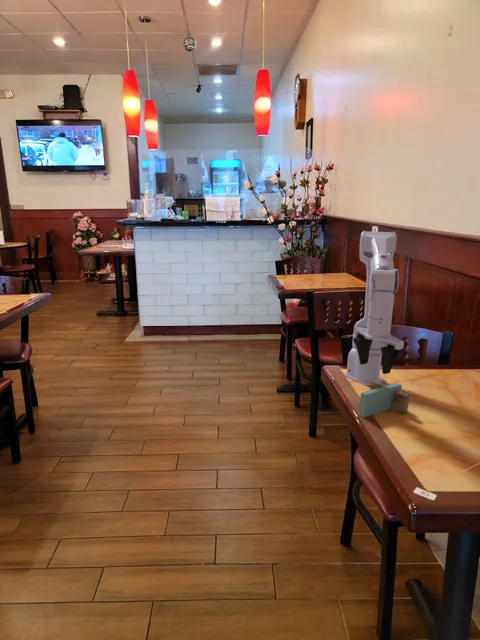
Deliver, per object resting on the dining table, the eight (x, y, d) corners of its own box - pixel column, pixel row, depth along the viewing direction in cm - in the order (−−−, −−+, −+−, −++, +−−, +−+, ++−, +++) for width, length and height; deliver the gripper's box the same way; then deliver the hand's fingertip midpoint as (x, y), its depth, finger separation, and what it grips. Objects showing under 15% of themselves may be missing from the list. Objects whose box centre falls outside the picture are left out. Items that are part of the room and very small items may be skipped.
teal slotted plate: (358, 414, 114) (360, 392, 112) (394, 404, 120) (396, 382, 119) (363, 417, 112) (365, 395, 111) (399, 406, 119) (401, 384, 117)
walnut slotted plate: (369, 398, 123) (371, 381, 122) (373, 397, 124) (375, 380, 123) (402, 414, 114) (405, 396, 113) (407, 413, 115) (409, 394, 114)
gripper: (347, 312, 118) (343, 362, 122) (391, 326, 106) (385, 380, 110) (366, 309, 122) (362, 358, 125) (411, 322, 110) (405, 375, 113)
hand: (374, 368), depth 118 cm, fingers open, 7 cm apart
